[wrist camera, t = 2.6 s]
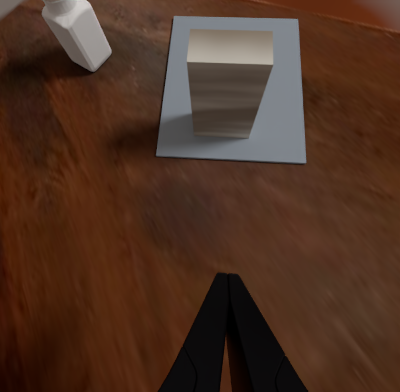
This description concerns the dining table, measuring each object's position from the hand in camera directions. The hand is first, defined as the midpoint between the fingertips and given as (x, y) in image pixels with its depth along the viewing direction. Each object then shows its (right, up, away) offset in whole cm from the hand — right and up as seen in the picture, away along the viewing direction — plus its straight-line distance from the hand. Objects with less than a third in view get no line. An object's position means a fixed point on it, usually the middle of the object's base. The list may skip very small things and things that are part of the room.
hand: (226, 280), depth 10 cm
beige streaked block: (+1, +11, +17) cm, 20 cm away
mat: (+3, +17, +19) cm, 25 cm away
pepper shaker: (-15, +21, +21) cm, 33 cm away
